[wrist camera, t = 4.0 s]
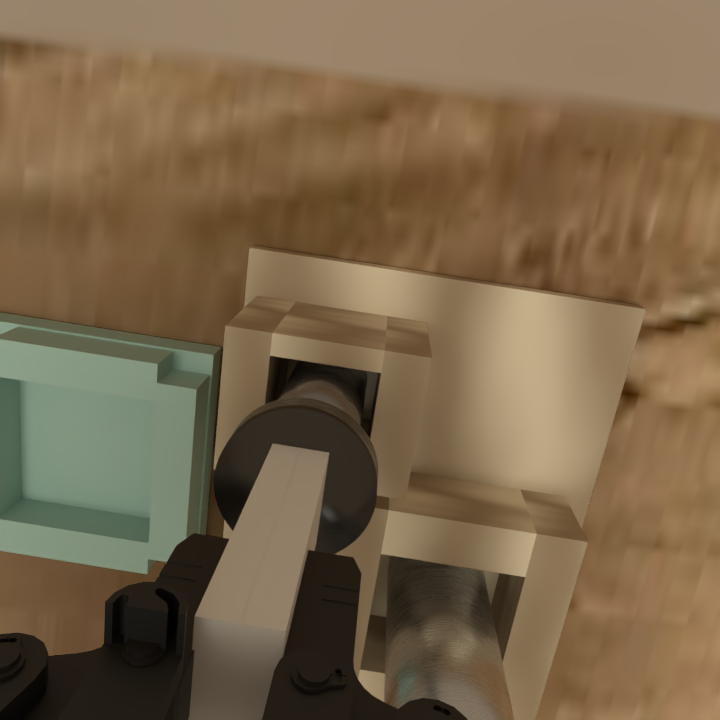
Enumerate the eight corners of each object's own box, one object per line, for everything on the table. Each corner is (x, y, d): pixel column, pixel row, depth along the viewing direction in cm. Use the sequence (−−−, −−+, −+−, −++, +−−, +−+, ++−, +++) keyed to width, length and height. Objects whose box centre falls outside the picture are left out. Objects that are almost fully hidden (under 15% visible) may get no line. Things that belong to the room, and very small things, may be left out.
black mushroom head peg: (271, 419, 26) (208, 547, 18) (282, 317, 25) (220, 401, 16) (375, 436, 26) (364, 572, 18) (392, 335, 25) (388, 428, 16)
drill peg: (380, 603, 30) (366, 957, 17) (395, 523, 29) (392, 838, 15) (472, 618, 30) (531, 985, 17) (491, 539, 29) (573, 869, 15)
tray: (2, 510, 31) (-39, 546, 28) (-5, 311, 28) (-51, 328, 25) (205, 543, 30) (185, 582, 28) (221, 346, 27) (200, 368, 25)
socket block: (216, 643, 32) (178, 742, 27) (253, 244, 26) (214, 267, 21) (526, 693, 32) (553, 804, 26) (638, 304, 26) (703, 343, 20)
